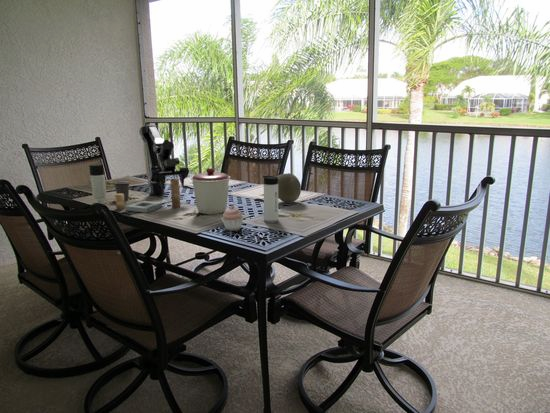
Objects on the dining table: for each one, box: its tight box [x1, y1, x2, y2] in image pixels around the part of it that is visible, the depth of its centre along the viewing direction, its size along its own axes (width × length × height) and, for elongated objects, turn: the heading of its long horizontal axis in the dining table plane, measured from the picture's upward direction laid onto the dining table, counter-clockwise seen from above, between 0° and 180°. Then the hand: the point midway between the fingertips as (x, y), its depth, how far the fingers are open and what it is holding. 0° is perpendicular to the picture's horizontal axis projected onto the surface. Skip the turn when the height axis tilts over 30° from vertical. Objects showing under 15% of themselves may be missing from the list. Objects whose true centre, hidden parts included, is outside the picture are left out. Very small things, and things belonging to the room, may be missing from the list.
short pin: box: [114, 193, 126, 210], centre depth 211 cm, size 4×4×7 cm
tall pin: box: [169, 177, 181, 209], centre depth 212 cm, size 4×4×14 cm
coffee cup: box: [113, 180, 131, 201], centre depth 228 cm, size 8×8×10 cm
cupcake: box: [220, 205, 245, 232], centre depth 177 cm, size 9×9×10 cm
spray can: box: [88, 163, 108, 205], centre depth 219 cm, size 7×7×20 cm
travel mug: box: [262, 175, 279, 224], centre depth 186 cm, size 6×7×20 cm
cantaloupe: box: [276, 173, 302, 203], centre depth 219 cm, size 14×14×15 cm
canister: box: [190, 166, 231, 215], centre depth 202 cm, size 18×18×21 cm
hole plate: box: [125, 200, 163, 214], centre depth 211 cm, size 12×12×2 cm
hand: (174, 187), depth 212 cm, fingers open, 9 cm apart
